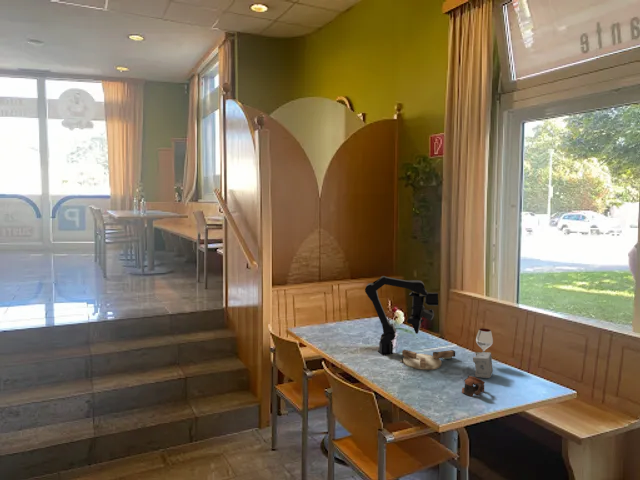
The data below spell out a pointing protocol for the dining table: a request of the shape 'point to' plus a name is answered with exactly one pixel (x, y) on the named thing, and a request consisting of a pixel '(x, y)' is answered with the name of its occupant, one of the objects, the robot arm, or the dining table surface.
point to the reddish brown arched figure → (471, 389)
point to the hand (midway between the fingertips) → (416, 333)
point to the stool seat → (420, 360)
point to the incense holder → (483, 364)
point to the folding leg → (444, 354)
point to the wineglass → (484, 338)
